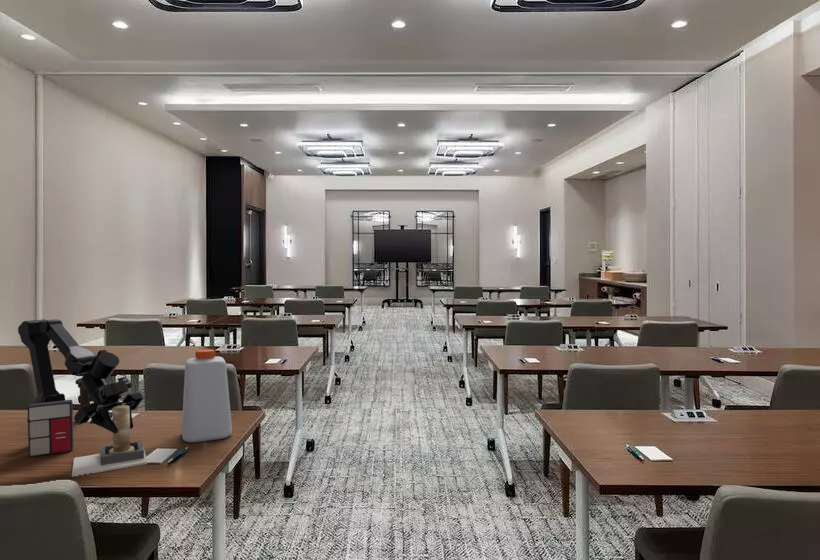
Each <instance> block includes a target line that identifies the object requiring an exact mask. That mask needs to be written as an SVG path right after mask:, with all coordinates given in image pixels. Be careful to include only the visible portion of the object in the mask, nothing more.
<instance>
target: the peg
mask: <svg viewBox="0 0 820 560" xmlns="http://www.w3.org/2000/svg"><path fill="white" fill-rule="evenodd" d="M111 411H112V415H111V417H112V418H111V419H112V421H113V423H114V424H115V426H116V428H117V430H118V432H117V433H116V434H115V433H113V432H112V445H113V448H112V449H111V450H109V455H111V454H117V453H123V452H130V451H134V447H133V446H130V442H131V429H130V410H129V406H116V407H113V408H112V410H111Z"/></svg>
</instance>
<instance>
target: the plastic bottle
mask: <svg viewBox="0 0 820 560" xmlns="http://www.w3.org/2000/svg"><path fill="white" fill-rule="evenodd" d="M194 355H195V357H191V358H188V359H186V361H185V362H184V363H185V364H184V381H183V383H184V384H183V399H182V400H183V402H182V403H183V404H182V421H181V437H182V440H183V441H184V442H186V443H193V444H194V443H201V442H202V443H203V442H207V441H208V442H209V441H216V440H223V439H226V438H229V436H231V435H232V433H233V428H232V427H233V425H232V415H231V413H232V412H231V403H230V392H229V383H228V382H229V381H228V371H227V362H226V361H225V359H224V358H223V357H222V356H216V351H215V349H212V348H211V349H210V348H209V349H207V348H206V349H205V348H204V349H198V350H196V351H195V354H194Z"/></svg>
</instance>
